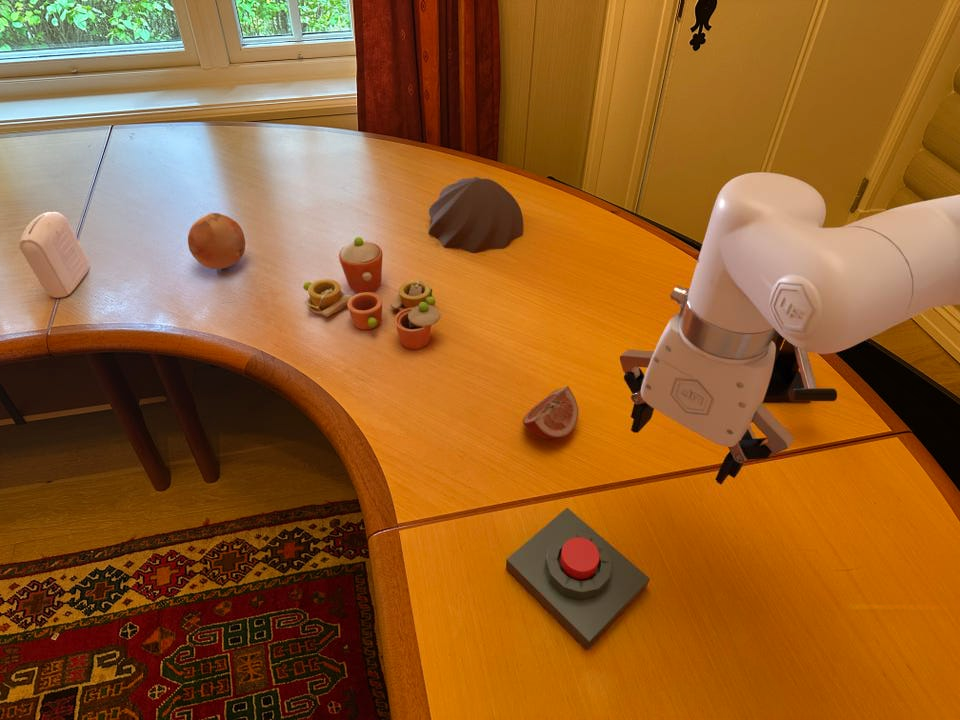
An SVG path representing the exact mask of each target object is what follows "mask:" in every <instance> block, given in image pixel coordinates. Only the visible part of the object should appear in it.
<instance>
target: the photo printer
mask: <svg viewBox="0 0 960 720" xmlns="http://www.w3.org/2000/svg"><path fill="white" fill-rule="evenodd" d="M18 245H19V249H20V251H21V253H22V255H23V257H25V260H26V261H27V263H28V265H29V266H30V268H31V270H32V271H33V274H34V275H35V276H36V278H37V280H38V282H39V283H40V285H41V286H42V289H43V290H44V291H45V293H46V294H47V295H48V296H50V297H51V298H55V299H59V298H65V297H68V296H69V295H71V293H72V292H73V291H75V289H76V288H77V287H78V285H79V284H80V282H81V281H82V280H83V279H84V277H85V276H86V275H87V273H88V272H89V270H90V268H91V263H90V261H89V260H88V258H87V255H86V254H85V252H84V250H83V248H82V246H81V244H80V242H79V240H78V238H77V236H76V235H75V232H74V230H73V229H72V227H71V225H70V223H69V221H68V219H67V218H66V217H65V216H64V215H63V214H62V213H60V212H58V211H52V212H51V211H47V212H43V213H41V214H40V215H38V216H36V217H35V218H33V219H32V220H31V221H30V222H29V223H28V225H27V226H26V227H25V229H24V231H23V232H22V235H21V237H20V239H19V243H18Z"/></svg>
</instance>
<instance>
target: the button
mask: <svg viewBox="0 0 960 720" xmlns="http://www.w3.org/2000/svg"><path fill="white" fill-rule="evenodd" d="M599 559H600V555H599V551H598V549H597V547H596V546H595V544H594V543H592V542H591V541H590V540H588V539H585V538H581V537H576V538H572V539H570V540H568V541H567V542H566V543H565V544H564V545H563V548H562V552H561V557H560V563H561V566H562V569H563V570H564V571H565V573H566V574H567V575H569V576H570V577H572V578H575V579H587V578H590V577H591V576H592V575H594V573H595V572H596V570H597V567H598V563H599Z"/></svg>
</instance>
